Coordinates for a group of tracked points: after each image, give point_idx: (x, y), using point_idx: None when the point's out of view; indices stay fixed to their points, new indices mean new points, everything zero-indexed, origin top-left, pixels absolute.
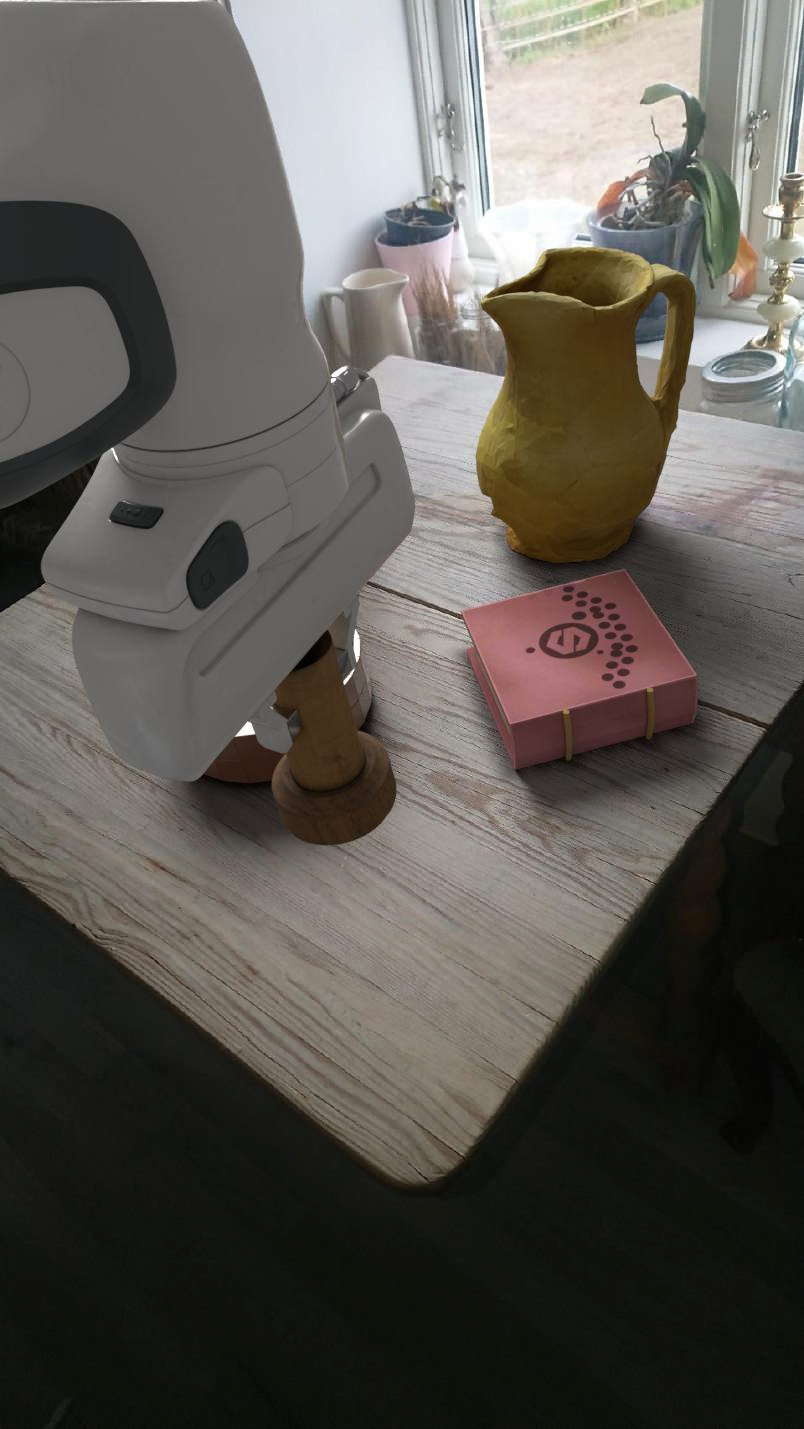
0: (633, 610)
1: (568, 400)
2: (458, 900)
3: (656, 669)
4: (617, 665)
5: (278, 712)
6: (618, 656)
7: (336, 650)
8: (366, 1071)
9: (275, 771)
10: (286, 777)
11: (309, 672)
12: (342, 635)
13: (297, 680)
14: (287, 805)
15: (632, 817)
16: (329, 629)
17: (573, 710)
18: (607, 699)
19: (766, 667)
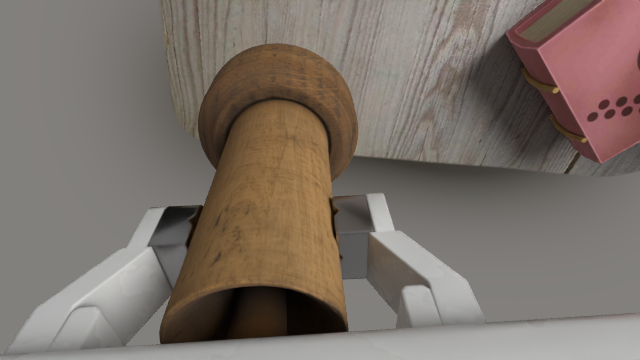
0: None
1: None
2: (360, 56)
3: (611, 136)
4: (620, 106)
5: (176, 272)
6: (634, 102)
7: (361, 267)
8: (210, 70)
9: (240, 70)
10: (227, 113)
11: None
12: (384, 290)
13: None
14: (202, 126)
15: (468, 133)
16: (390, 274)
17: (559, 93)
18: (573, 114)
19: (628, 160)
